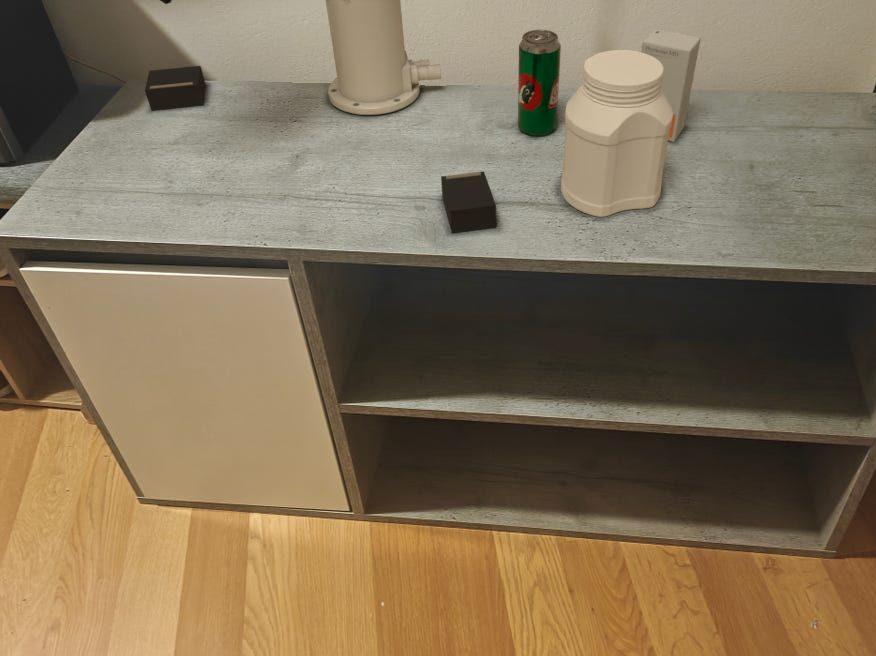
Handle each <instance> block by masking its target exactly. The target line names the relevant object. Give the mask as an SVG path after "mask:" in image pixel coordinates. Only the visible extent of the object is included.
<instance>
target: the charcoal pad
mask: <svg viewBox="0 0 876 656" xmlns="http://www.w3.org/2000/svg"><path fill="white" fill-rule="evenodd" d="M206 88H207V84H206V80H205V77H204V73H203V69H202V66H201V65H192V66H184V67H183V66H182V67H172V68H164V69H152V70H149V71H148V75H147V79H146V83H145V88H144V93H145V96H146V98H147V102H148V104H149V105H148V106H149V107H150V111H152V112H153V111H161V110H173V109H181V108H182V109H183V108H191V107H201V106H204V104H205V97H206V96H205V95H206V90H207V89H206Z"/></svg>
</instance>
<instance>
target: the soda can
mask: <svg viewBox="0 0 876 656" xmlns="http://www.w3.org/2000/svg"><path fill="white" fill-rule="evenodd" d="M561 50H562V45H561V43H560V41H559V36H558V34H557V33H556V32H554V31H553V30H552V31H551V30H548V29H533V30H529V31H526V32H525V33H523V34H522V36H521V41H520V43H519V45H518V75H517V76H518V80H517V81H518V86H517V89H518V90H517V126H518V129H520V130H521V131H522V132H523V133H524V134H526V135H529V136H533V137H542V136H546V135H549V134H550V133H553V131H554V130H555V129H556V128H557V126H558V110H559V109H558V107H559V92H560V91H559V90H560V69H561V53H562V51H561Z"/></svg>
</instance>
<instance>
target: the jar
mask: <svg viewBox="0 0 876 656" xmlns="http://www.w3.org/2000/svg"><path fill="white" fill-rule="evenodd" d="M663 72H664V68H663V65H662V64H661V62H660V61H658V60H657V59H656V58H654V57H652V56H650V55H648V54H645V53H641V51H636V50H631V49H630V50H629V49H613V50H605V51H601V52H598V53H595V54H593V55H591V56H590V57H589V58H587V59H586V60H585V62H584V65H583V72H582V74H583V75H582V84H581V85H580V86H579V88H578V89H577V90H576V91H575V92H574V94H572V96H571V97H570V98H569V100H568V101H567V103H566V106H565V111H564V120H565V127H564V130H565V131H564V142H563V143H564V144H563V159H562V160H563V161H562V175H561V180H560V192H561V195H562V197H563V198H564V200H565V201H566V203H568V204H569V205H570V206H571V207H573V208H574V209H576V210H577V211H579V212H582V213H584V214H587V215H590V216H594V217H598V218H605V217H610V216H611V215H613V214H616V213H620V212H624V211H628V210H639V209H640V210H641V209H642V210H643V209H649V208H653V207H654V206H655V205H656V204H657V203H658V201H659V199H660V197H661V191H662V185H663V181H662V179H663V175H664V174H663V173H664V168H665V161H666V155H667V148H668V143H669V140H668V137H669V131H670V128H671V124H672V118H673V111H672V108H671V106H670V104H669V102H668V100H667V99H666V97H665V95H664V93H663V92H662V90H661V87H662V77H663Z"/></svg>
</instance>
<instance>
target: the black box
mask: <svg viewBox="0 0 876 656" xmlns="http://www.w3.org/2000/svg"><path fill="white" fill-rule="evenodd" d="M440 181H441V199H442V201H443V206H444V210H445V213H446V217H447V220H448V224H449V228H450V232H451V234H457V233H465V232H474V231H480V230H482V231H483V230H489V229H496V228H497V205H496V202H495V199H494V196H493V194H492V191H491V187H490V185H489V182H488V179H487V176H486V173H485V171H475V172H465V173H458V174H457V173H456V174H449V175H442V176H441V175H440Z"/></svg>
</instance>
